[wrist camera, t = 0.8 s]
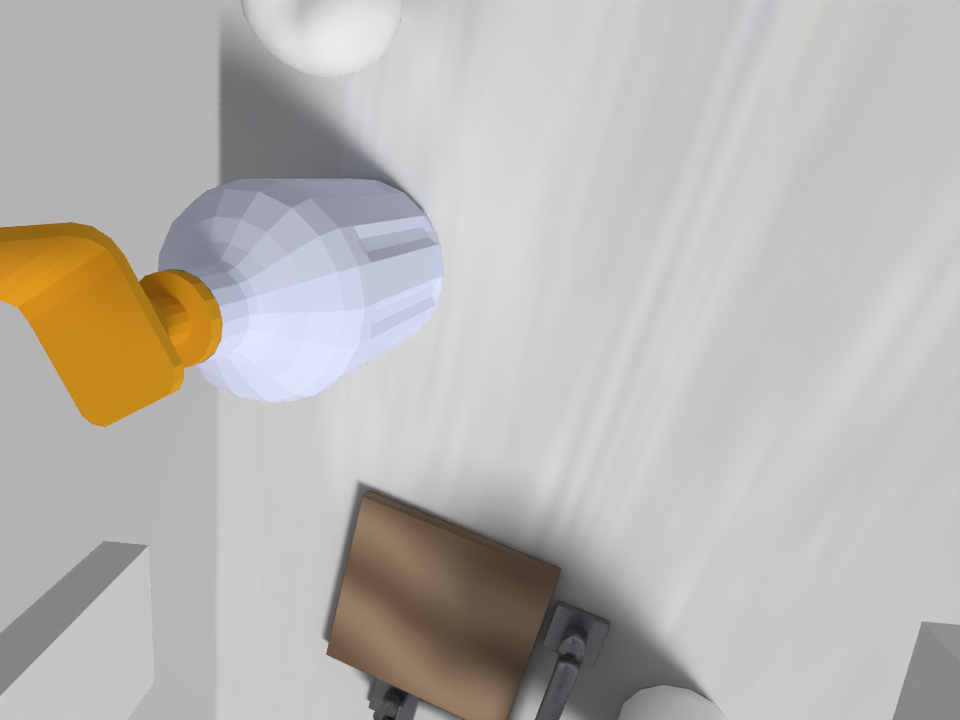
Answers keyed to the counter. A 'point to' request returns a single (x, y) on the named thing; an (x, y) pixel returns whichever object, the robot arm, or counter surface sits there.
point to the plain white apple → (325, 32)
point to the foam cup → (669, 705)
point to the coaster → (439, 610)
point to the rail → (567, 635)
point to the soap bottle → (230, 293)
